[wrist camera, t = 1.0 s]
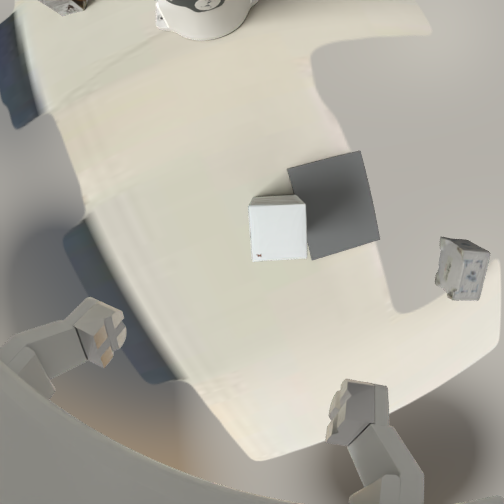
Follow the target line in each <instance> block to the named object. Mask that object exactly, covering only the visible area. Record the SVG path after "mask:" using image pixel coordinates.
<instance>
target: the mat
mask: <svg viewBox="0 0 504 504" xmlns="http://www.w3.org/2000/svg"><path fill="white" fill-rule="evenodd" d="M287 170H288V174H289V177H290V181H291V184H292V188H293V191H294V195H297V196H298V197H299V198H300V199H301V200H302V201H303V202H304V203H305V204H306V217H307V242H308V246H309V250H310V254H311V258H312V260H315V259H318V258H322V257H325V256H328V255H331V254H335V253H338V252H341V251H344V250H348V249H351V248H354V247H357V246H361V245H364V244H367V243H370V242H373V241H377V240H380V237H379V231H378V226H377V221H376V216H375V210H374V206H373V201H372V196H371V192H370V187H369V183H368V179H367V175H366V171H365V167H364V163H363V159H362V155H361V151H357V152H352V153H348V154H344V155H340V156H336V157H331V158H327V159H324V160H320V161H316V162H312V163H308V164H304V165H301V166H297V167H293V168H290V169H287Z"/></svg>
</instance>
